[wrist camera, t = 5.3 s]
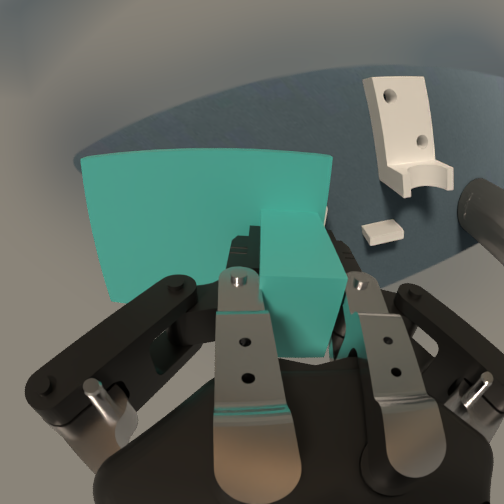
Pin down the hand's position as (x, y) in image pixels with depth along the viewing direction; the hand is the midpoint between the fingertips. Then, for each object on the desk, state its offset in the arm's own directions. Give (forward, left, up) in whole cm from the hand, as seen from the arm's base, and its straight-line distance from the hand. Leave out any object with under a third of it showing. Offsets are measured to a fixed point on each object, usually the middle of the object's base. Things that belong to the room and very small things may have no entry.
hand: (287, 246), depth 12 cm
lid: (+4, 0, -1) cm, 4 cm away
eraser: (-15, +7, -22) cm, 27 cm away
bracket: (-15, -7, -22) cm, 27 cm away
